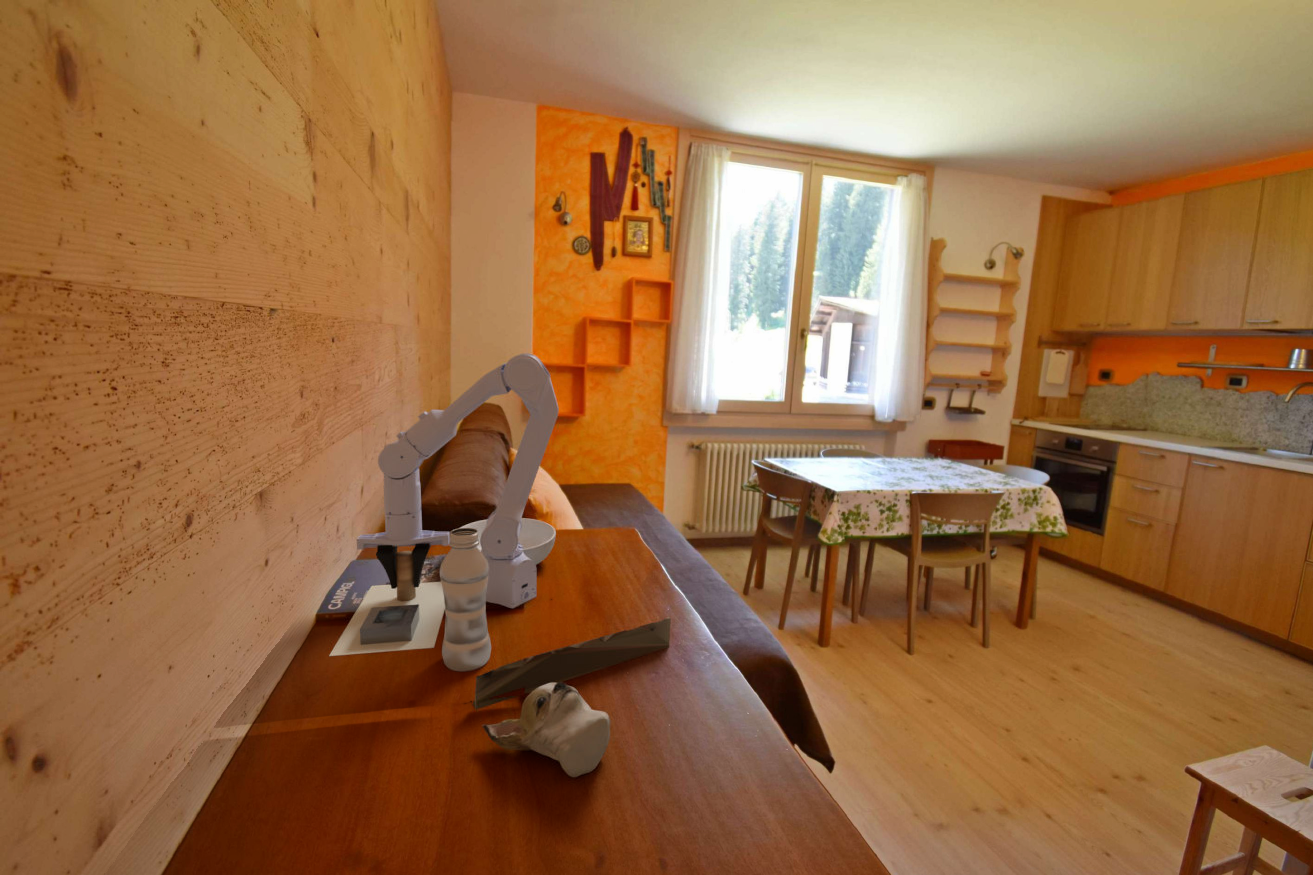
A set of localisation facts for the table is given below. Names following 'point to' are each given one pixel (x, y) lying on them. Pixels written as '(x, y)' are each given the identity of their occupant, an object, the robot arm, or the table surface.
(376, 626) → the grey square tray
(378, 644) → the cream board
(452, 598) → the plastic bottle
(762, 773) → the table surface
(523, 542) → the serving bowl
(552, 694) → the ceramic sculpture
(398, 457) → the robot arm
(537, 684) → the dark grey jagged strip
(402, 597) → the oak dowel
